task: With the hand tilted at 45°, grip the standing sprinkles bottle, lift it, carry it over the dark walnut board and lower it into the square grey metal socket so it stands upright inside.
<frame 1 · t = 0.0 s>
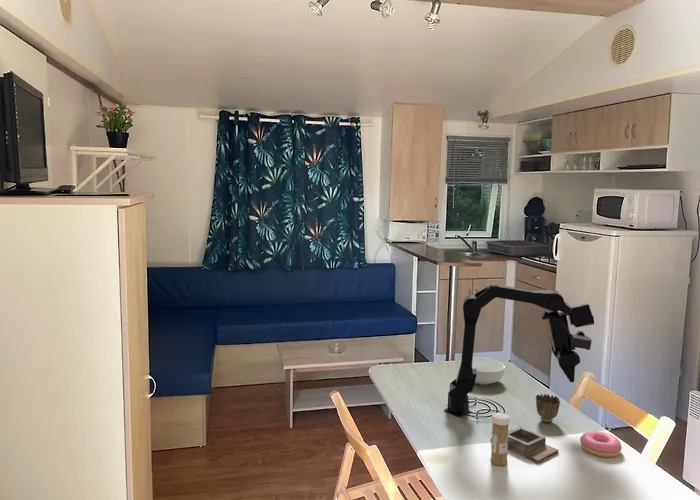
hand: (569, 376, 172), 15 cm above the table, tool pointing down, fingers open, 9 cm apart
socket board: (523, 447, 157), on the table
doughnut: (600, 450, 156), on the table
cup: (546, 422, 174), on the table
sprinkles bottle: (498, 462, 148), on the table
cereal bowl: (481, 381, 210), on the table
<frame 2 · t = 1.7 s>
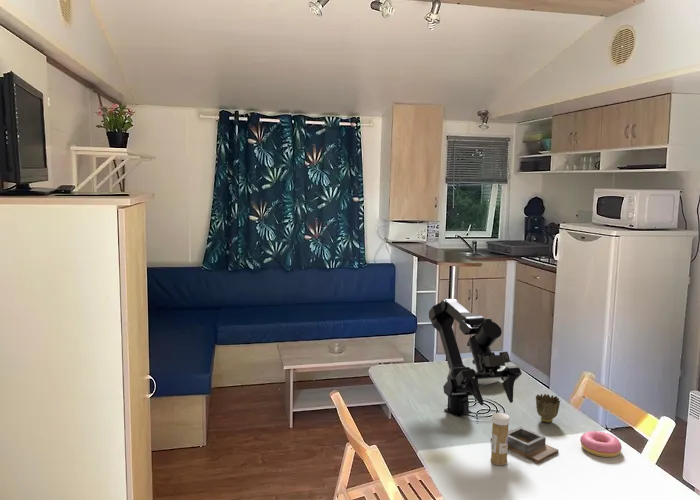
hand: (497, 403, 154), 14 cm above the table, tool tilted 40°, fingers open, 9 cm apart
nothing on the table moved.
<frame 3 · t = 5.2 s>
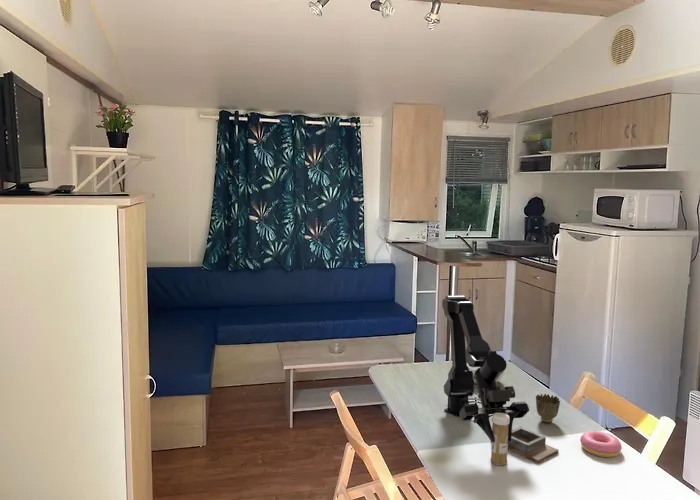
hand: (501, 441, 146), 7 cm above the table, tool tilted 45°, fingers closed on sprinkles bottle, 4 cm apart
sprinkles bottle: (498, 462, 148), on the table, touching gripper
everything else where it was.
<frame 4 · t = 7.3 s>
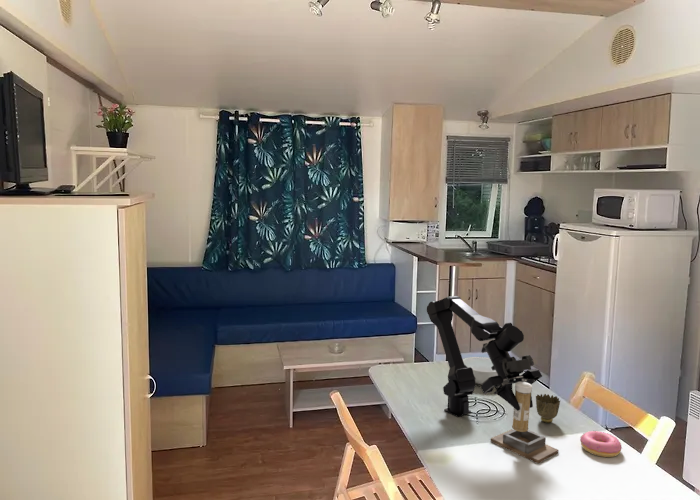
hand: (525, 408, 152), 13 cm above the table, tool tilted 45°, fingers closed on sprinkles bottle, 4 cm apart
sprinkles bottle: (519, 429, 154), point 6 cm above the table, touching gripper
everything else where it was.
when the fingers open (9 cm above the table, at t = 9.3 s): sprinkles bottle drops 1 cm, resting on socket board.
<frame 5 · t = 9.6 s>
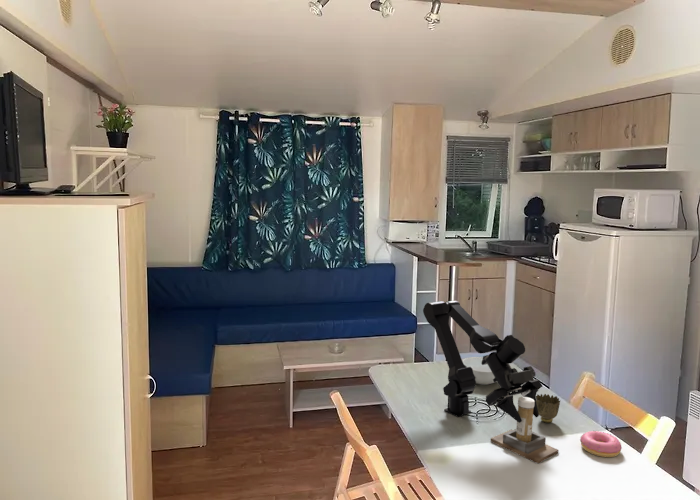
hand: (529, 419, 155), 9 cm above the table, tool tilted 45°, fingers open, 7 cm apart
sprinkles bottle: (522, 444, 157), point 1 cm above the table, touching socket board
everything else where it was.
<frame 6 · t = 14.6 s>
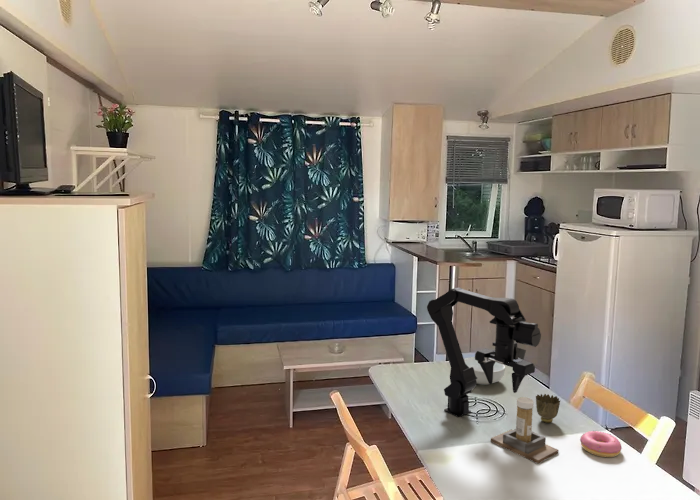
hand: (502, 388, 168), 13 cm above the table, tool pointing down, fingers open, 9 cm apart
nothing on the table moved.
at the end: sprinkles bottle 0.3 cm off-centre on the socket board, point 0.8 cm above the socket board's base; sprinkles bottle tilted 0°; the gripper is holding nothing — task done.
